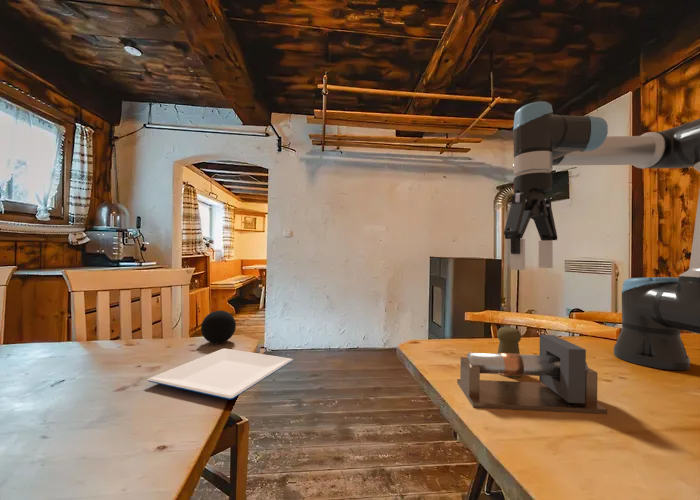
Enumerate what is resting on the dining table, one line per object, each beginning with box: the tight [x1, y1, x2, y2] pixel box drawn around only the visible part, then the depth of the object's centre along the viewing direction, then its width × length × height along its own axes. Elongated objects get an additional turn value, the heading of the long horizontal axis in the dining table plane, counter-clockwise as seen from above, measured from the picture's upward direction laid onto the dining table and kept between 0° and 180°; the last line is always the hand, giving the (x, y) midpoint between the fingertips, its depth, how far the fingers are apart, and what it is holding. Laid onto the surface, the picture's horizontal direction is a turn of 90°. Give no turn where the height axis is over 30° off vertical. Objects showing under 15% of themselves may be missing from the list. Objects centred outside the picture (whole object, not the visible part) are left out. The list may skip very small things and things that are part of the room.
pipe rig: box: [456, 352, 608, 415], centre depth 63 cm, size 24×11×9 cm, turn 86°
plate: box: [146, 348, 294, 400], centre depth 71 cm, size 22×22×2 cm
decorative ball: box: [200, 310, 237, 344], centre depth 96 cm, size 10×10×10 cm
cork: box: [496, 326, 524, 379], centre depth 75 cm, size 6×6×11 cm
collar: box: [538, 334, 587, 403], centre depth 62 cm, size 3×10×10 cm, turn 176°
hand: (532, 268), depth 70 cm, fingers open, 13 cm apart
